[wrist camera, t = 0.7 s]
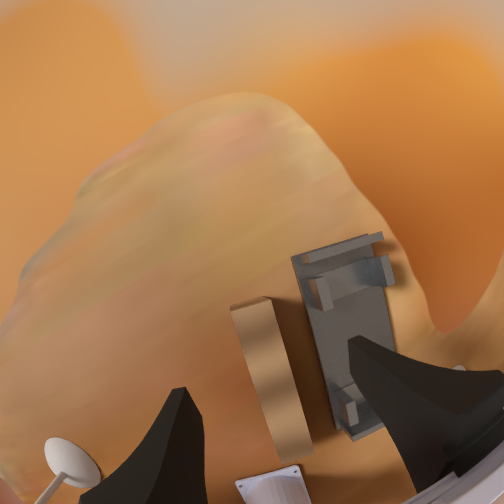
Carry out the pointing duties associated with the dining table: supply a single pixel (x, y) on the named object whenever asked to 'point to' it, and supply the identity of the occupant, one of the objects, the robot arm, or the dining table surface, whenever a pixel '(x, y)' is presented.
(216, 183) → the dining table surface
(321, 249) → the bracket board
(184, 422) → the robot arm
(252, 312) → the rail
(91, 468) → the lamp
